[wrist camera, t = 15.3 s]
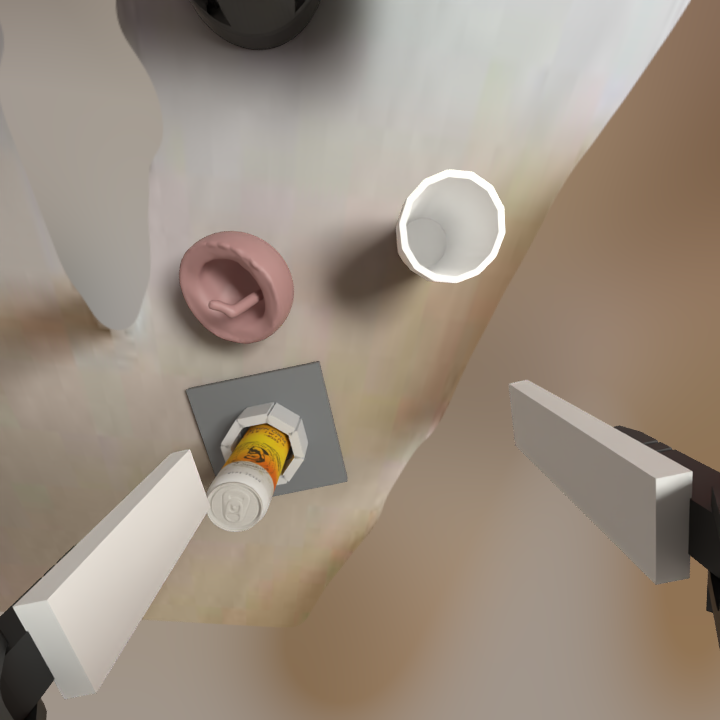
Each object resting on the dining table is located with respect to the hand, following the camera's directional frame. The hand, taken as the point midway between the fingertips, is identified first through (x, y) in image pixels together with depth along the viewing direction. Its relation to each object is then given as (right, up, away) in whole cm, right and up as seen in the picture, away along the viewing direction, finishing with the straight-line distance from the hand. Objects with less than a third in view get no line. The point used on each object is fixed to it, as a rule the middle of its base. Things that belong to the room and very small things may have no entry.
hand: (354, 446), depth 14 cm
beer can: (-12, -7, +33) cm, 36 cm away
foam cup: (+8, +18, +29) cm, 35 cm away
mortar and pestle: (-13, +13, +29) cm, 35 cm away
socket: (-12, -7, +34) cm, 37 cm away
